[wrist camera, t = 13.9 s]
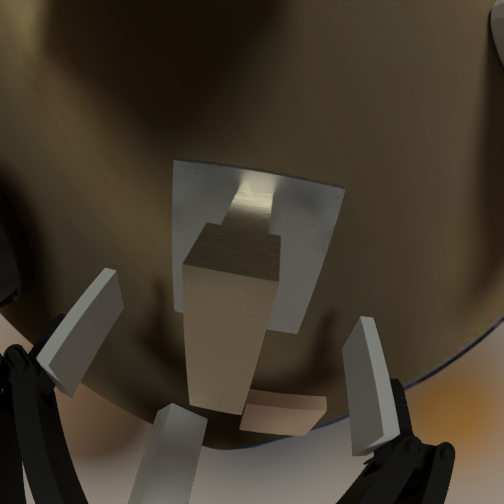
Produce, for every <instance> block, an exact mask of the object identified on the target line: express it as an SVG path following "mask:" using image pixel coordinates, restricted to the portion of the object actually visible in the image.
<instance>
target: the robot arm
mask: <svg viewBox="0 0 504 504" xmlns="http://www.w3.org/2000/svg"><path fill="white" fill-rule="evenodd" d="M32 280H33V267H32V261H31V256H30V252H29V249H28V246H27V243H26V240H25V237H24V234H23V232H22V229H21V227H20V225H19V222H18V220H17V218H16V216H15V214H14V212H13V210H12V208H11V207H10V205H9V203H8V202H7V200H6V199H5V197H4V196H3V194H2V193H1V192H0V308H1V307H3V306H5V305H7V304H9V303H11V302H13V301H15V300H17V299H18V298H19V297H21V296H22V294H23V293H24V292H25V291H26V290H27V289H28V288H29V287H30V286H31V283H32ZM123 309H124V305H123V300H122V296H121V291H120V286H119V281H118V275H117V271H116V270H112V269H108V268H105V269H104V270H103V271H102V272H101V273H100V274H99V276H98V277H97V278H96V279H95V280H94V282H93V283H92V284H91V285H90V286H89V288H88V289H87V290H86V291H85V292H84V294H83V295H82V296H81V297H80V299H79V300H78V301H77V303H76V304H75V305H74V306H73V308H72V309H71V310H70V312H69V313H68V314H67V315H64V314H60V315H59V316H57V317H56V318H54V319H53V320H52V322H51V323H50V324H49V326H48V328H46V330H45V331H44V334H42V335H41V337H40V338H39V339H38V341H37V342H36V344H35V345H34V346H33V348H32V350H31V351H30V352H29V354H27V353H26V351H25V350H24V349H23V347H22V346H21V345H18V344H14V345H11V346H9V347H8V348H7V349H6V351H5V353H4V356H2V355H1V354H0V504H26V498H25V490H24V482H23V468H22V461H23V465H24V469H25V473H26V476H27V480H28V483H29V486H30V490H31V492H32V496H33V498H34V501H35V504H88V501H87V499H86V497H85V495H84V492H83V490H82V488H81V485H80V482H79V480H78V477H77V474H76V472H75V469H74V466H73V463H72V460H71V457H70V454H69V451H68V447H67V444H66V440H65V437H64V433H63V429H62V425H61V421H60V416H59V412H58V407H57V402H56V397H55V392H54V390H53V389H54V387H55V385H56V387H57V388H58V389H59V391H60V392H62V393H64V394H66V395H68V396H70V397H73V395H74V393H75V391H76V389H77V387H78V385H79V383H80V381H81V380H82V378H83V376H84V374H85V372H86V370H87V369H88V367H89V365H90V363H91V362H92V360H93V358H94V356H95V355H96V353H97V351H98V349H99V348H100V346H101V344H102V343H103V341H104V339H105V338H106V336H107V334H108V333H109V331H110V329H111V328H112V326H113V325H114V323H115V321H116V320H117V318H118V317H119V315H120V313H121V312H122V310H123ZM342 354H343V361H344V369H345V377H346V385H347V394H348V404H349V415H350V425H351V440H352V456H363V455H364V456H365V455H368V454H370V453H372V452H373V451H374V457H372V458H371V459H369V460H367V461H366V462H365V463H364V465H366V464H368V465H367V466H366V467H365V469H364V470H363V471H362V473H361V474H360V475H359V476H358V478H357V479H356V480H355V482H354V483H353V484H352V485H351V487H350V488H349V489H348V490H347V491H346V493H345V494H344V495H343V496H342V497H341V499H340V500H339V501H338V502H337V503H336V504H444V502H445V498H446V495H447V491H448V487H449V483H450V479H451V475H452V470H453V465H454V460H455V449H454V447H453V446H452V444H450V443H449V442H443V443H441V444H439V445H437V446H434V445H428V444H423V443H422V442H421V440H420V439H419V438H418V437H415V436H414V434H413V431H412V425H411V421H410V415H409V411H408V406H407V401H406V399H405V393H404V389H403V386H402V385H401V383H400V382H399V380H398V379H389V375H388V371H387V367H386V363H385V359H384V355H383V351H382V347H381V344H380V340H379V336H378V333H377V329H376V326H375V322H374V319H373V318H371V317H363V316H360V318H359V320H358V322H357V324H356V325H355V327H354V329H353V331H352V333H351V334H350V336H349V338H348V340H347V341H346V343H345V345H344V347H343V348H342ZM2 389H3V391H2Z"/></svg>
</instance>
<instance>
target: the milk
mask: <svg viewBox="0 0 504 504" xmlns="http://www.w3.org/2000/svg"><path fill="white" fill-rule="evenodd" d="M207 420H208V419H207V418H205V417H203V416H200V415H198V414H196V413H193V412H191V411H189V410H187V409H184V408H182V407H180V406H178V405H176V404H174V403H171V404H169V405H168V406H166V407H164V408H162V409H160V410H158V412H157V415H156V417H155V420H154V423H153V426H152V429H151V432H150V435H149V438H148V442H147V444H146V447H145V451H144V454H143V457H142V460H141V463H140V466H139V469H138V472H137V475H136V479H135V482H134V486H133V489H132V492H131V495H130V499H129V502H128V504H188V503H189V499H190V494H191V490H192V486H193V481H194V477H195V472H196V468H197V463H198V459H199V455H200V451H201V446H202V442H203V438H204V433H205V429H206V425H207Z"/></svg>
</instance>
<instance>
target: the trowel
mask: <svg viewBox="0 0 504 504" xmlns="http://www.w3.org/2000/svg"><path fill="white" fill-rule="evenodd" d="M344 193H345V188H344V187H343V186H340V185H336V184H332V183H328V182H323V181H319V180H314V179H309V178H305V177H300V176H295V175H290V174H285V173H279V172H274V171H268V170H263V169H257V168H251V167H244V166H238V165H231V164H224V163H217V162H209V161H201V160H192V159H183V158H177V159H175V160H174V165H173V190H172V267H173V292H174V310H175V311H178V312H182V313H183V316H184V338H185V354H186V368H187V380H188V391H189V401H190V405H193V406H197V407H201V408H206V409H211V410H215V411H220V412H226V413H231V414H237V415H242V411H243V408H244V405H245V402H246V398H247V395H248V392H249V388H250V385H251V382H252V378H253V375H254V372H255V368H256V365H257V361H258V358H259V354H260V351H261V347H262V344H263V340H264V336H265V333H266V329H268V330H274V331H281V332H287V333H294V334H297V333H298V331H299V328H300V325H301V323H302V320H303V318H304V315H305V312H306V310H307V307H308V304H309V302H310V299H311V296H312V293H313V291H314V288H315V285H316V282H317V279H318V276H319V274H320V271H321V268H322V265H323V262H324V259H325V256H326V253H327V250H328V246H329V243H330V240H331V237H332V234H333V231H334V227H335V224H336V221H337V217H338V214H339V211H340V207H341V204H342V200H343V197H344Z"/></svg>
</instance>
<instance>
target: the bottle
mask: <svg viewBox="0 0 504 504" xmlns="http://www.w3.org/2000/svg"><path fill="white" fill-rule="evenodd" d="M490 25H491V30H492V36H493V41H494V43H495V46H496V49H497V52H498V56H499V58H500V60H501V62H502V64H503V66H504V0H497V1H496V2H495V4H494V6H493V7H492V11H491V23H490Z"/></svg>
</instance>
